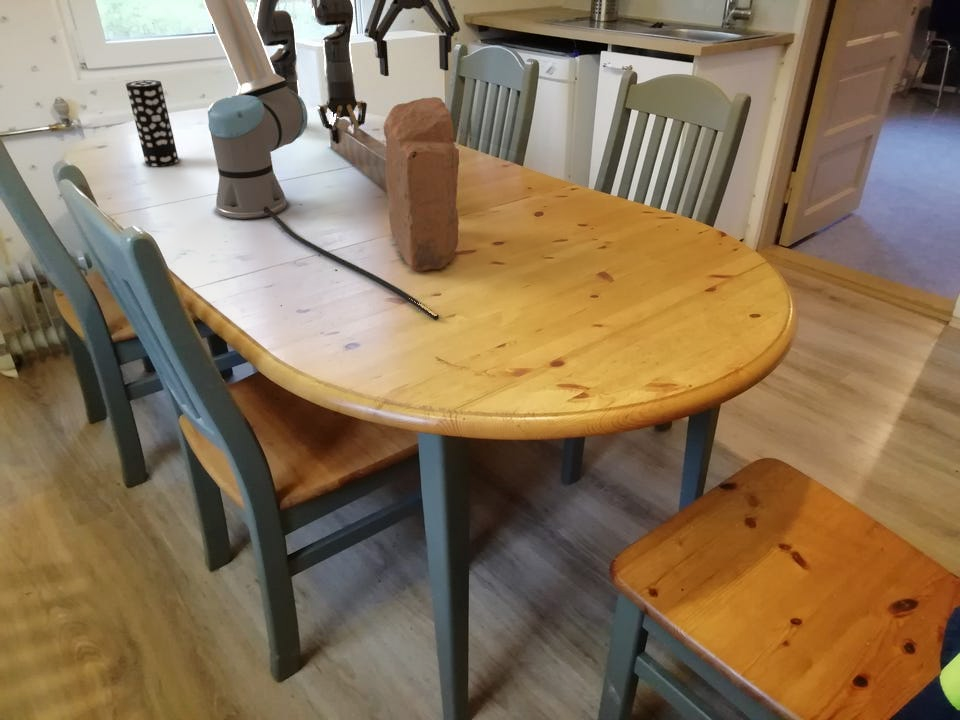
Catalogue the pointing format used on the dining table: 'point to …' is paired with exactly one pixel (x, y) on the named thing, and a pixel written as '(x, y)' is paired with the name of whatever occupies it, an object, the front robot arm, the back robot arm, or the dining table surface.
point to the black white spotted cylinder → (152, 122)
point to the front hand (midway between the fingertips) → (414, 72)
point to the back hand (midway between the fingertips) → (345, 141)
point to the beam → (361, 151)
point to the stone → (422, 182)
